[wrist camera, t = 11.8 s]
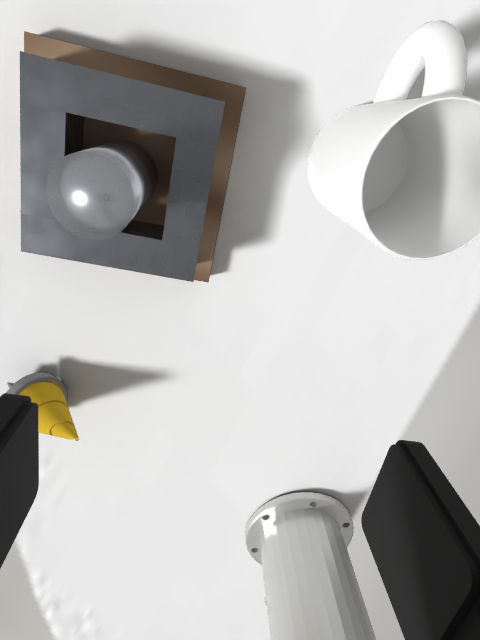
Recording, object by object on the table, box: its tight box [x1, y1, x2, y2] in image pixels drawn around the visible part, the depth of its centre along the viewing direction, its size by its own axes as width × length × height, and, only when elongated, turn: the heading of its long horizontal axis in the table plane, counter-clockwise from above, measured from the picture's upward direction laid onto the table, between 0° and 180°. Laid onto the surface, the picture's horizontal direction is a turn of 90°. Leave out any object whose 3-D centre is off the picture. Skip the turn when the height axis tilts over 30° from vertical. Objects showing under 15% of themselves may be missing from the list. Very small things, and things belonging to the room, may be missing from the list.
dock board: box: [24, 31, 246, 282], centre depth 30 cm, size 14×14×2 cm
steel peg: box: [46, 140, 158, 240], centre depth 25 cm, size 4×4×9 cm
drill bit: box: [7, 372, 79, 441], centre depth 35 cm, size 5×5×10 cm
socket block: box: [20, 51, 225, 282], centre depth 27 cm, size 11×11×4 cm
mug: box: [308, 21, 480, 260], centre depth 25 cm, size 8×12×12 cm
